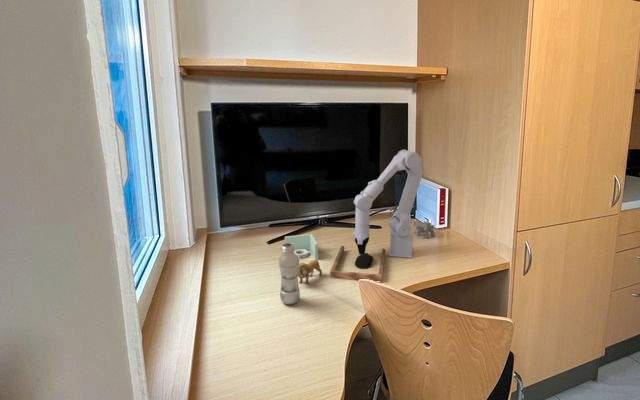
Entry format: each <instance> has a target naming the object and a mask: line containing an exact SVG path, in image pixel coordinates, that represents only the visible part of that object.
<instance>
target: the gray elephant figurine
mask: <svg viewBox="0 0 640 400" xmlns="http://www.w3.org/2000/svg"><path fill="white" fill-rule="evenodd" d="M413 226H414V228H415V229H414V231H413V234H416V236H418V237H419V236H420V234H424V239H429V238H430V235H429V233H430V234H431V236H432V237H435V236H436V232H435V231H434V228H435V225H434V224H432V223H431V222H428V221H414V222H413Z"/></svg>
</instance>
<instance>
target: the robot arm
mask: <svg viewBox="0 0 640 400" xmlns="http://www.w3.org/2000/svg"><path fill="white" fill-rule="evenodd" d="M422 161H423V159H422V158H421V156H420V154H419V153H418V152H413V151H410V150H408V149H401V150H399V151H398V152H397V154H396V155H394V156H393V158H392V160H391V161H390V163H389V164H388V166H386V168H385V169H384V170H383V172H382V173H381V174H380V175H379V177H378V178H377V179H373V180H371V181H368V183H367V186H366V187H365V188H364V189H363V190H362V191H360V194H357V195H355V198H354V200H353V205H354V206H355V214H354V215H355V219H354V220H355V221H354V222H355V223H354V224H355V225H354V226H355V228H354V230H355V231H353V232H352V233H351V235H352V236H354V237H355V238H354V242H355V244H356V246H357V250H358V251H357V252H358V255H362V254H364V253H366V249H367V245H368V242H369V240H370V209H371V208H372V206H373V202H374V201H375V200H376V198H377V197H378V196H379V195H380V194H381V193H382V192H383V191H384V185H385V184H386V183H387V182H388V181H389V180H390V179H391V178H392V177H393V176H395V174H396V173H398V171H399V172H400V171H405V172H406V173H407V178H406V181H405V185H404V187H403V191H402V194H401V196H400V197H401V198H400V200H399V203H398V207H397V210H396V211H394V212H393V215H392V217H391V218H390V219H389V220H388V226H389V228H390V230H391V231H390V247H389V248H388V257H396V258H406V259H407V258H409V259H410V258H413V252H414V247H413V245H414V244H413V242H414V241H413V240H414V239H413V238H414V237H413V236H414V235H413V234H410V233H411V231H412V226H411V224H412V217H411V212H412V209H413V206H414V203H415V200H416V197H417V193H418V190H419V186H420V183H421V180H422V177H423V172H424V171H423V166H422Z"/></svg>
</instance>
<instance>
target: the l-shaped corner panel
mask: <svg viewBox="0 0 640 400" xmlns="http://www.w3.org/2000/svg"><path fill="white" fill-rule="evenodd" d="M284 242H285V243H284V244H286V243H291V244H293V245H294V253H295V254H296V255H297V257H298V259H299V260H300V259H306V258H308V256H309V251H310V252H311V254H312V256H313V259H314V260H317V261H319V247H318V246H319V245H318V242H317V241H316V239H315V237H314V235H313V234H312V233H310V234H308V233H307V234H300V235H298V234H297V235H288V236H284Z"/></svg>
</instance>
